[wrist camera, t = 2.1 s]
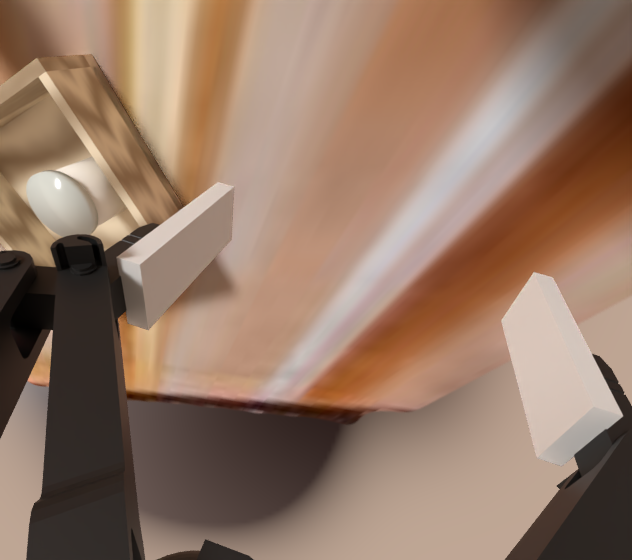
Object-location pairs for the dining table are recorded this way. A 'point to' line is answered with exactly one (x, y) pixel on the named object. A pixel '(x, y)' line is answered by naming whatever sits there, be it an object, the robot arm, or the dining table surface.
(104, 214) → the white light bulb
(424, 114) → the dining table surface
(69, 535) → the robot arm
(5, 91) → the crate
